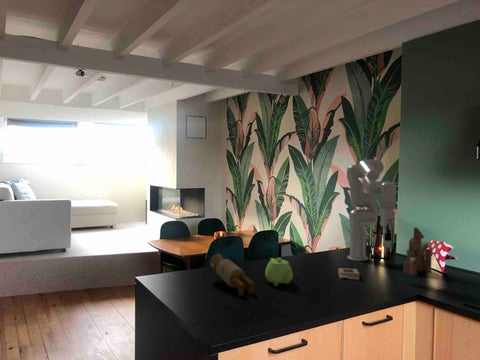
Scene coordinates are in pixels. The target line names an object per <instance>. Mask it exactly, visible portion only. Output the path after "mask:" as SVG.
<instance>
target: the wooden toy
mask: <svg viewBox="0 0 480 360" xmlns="http://www.w3.org/2000/svg"><path fill="white" fill-rule="evenodd" d="M424 238H425V236H424V234H423V233H422V232H421V231H420V229H419V228H418V227H413V237H411V238H410V239H409V241H408V249H406V260H404V261H403V264H402V265H403V267H402V269H403V270H402V272H403V273H404V274H407V275H409V276H410V275H411V276H417V275H418V272H424V273H429V274H430V273H432V249H430V248H425V250H424V254H423V253H422V239H424Z"/></svg>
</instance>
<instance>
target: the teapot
mask: <svg viewBox="0 0 480 360" xmlns="http://www.w3.org/2000/svg"><path fill="white" fill-rule="evenodd" d="M266 265H267V266H266V268H265V272H264V274H265V275H264V276H265V278H266V280H267V281H268V283H273V284H272V285H273V286H275V287H278V286H279V284H283V285H286V284H289V285H290V282H291V281H292V280H293V278H294V273H293V270H292V266H291V265H290V262H288V261H287V260H285V259H282V257H277V258H274V257H273V258H270V260H269V261H268V263H267V264H266Z"/></svg>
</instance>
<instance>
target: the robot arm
mask: <svg viewBox="0 0 480 360" xmlns="http://www.w3.org/2000/svg"><path fill="white" fill-rule="evenodd" d="M384 166H385V165H384V163H383V161H381V160H380V159H362V160H360V161H359V162H358V164H351V165H349V166H348V167H347V170H346V179H347V182H348V185H349V196H350V198H349V199H350V205H351V207H353V208H356V209H352V210H350V211H349V214H348V220H349V235H350V237H349V238H350V241H349V254H348V255H347V256H346V258H347V259H348V260H351V261H355V262H356V261H357V262H360V261H361V262H364V261H368V260H369V257H368V256H366V249H367V248H366V247H367V246H366V242H367V233H366V232H367V231H366V228H365V227H364V226H363V225H375V224H377V222H378V219H379V218H378V201H377V196H380V203H379V204H380V206H379V207H380V220H379V225H380V226H381V227H382V228H383V227H386V233H385V241H392V229H393V227H394V224H395V223H394V220H395V219H394V218H395V216H394V215H395V211H394V210H395V209H396V198H397V185H396V183H395V182H390V181H387V180H385V181H382V180H378V179H380V176H381V174H382V173H383V172H384ZM361 179H362V181H361ZM376 195H377V196H376ZM357 208H358V209H357ZM359 208H361V209H359ZM362 208H364V209H362ZM365 208H367V209H365ZM387 226H389V227H387ZM387 228H388V229H387Z"/></svg>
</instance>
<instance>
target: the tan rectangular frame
mask: <svg viewBox="0 0 480 360" xmlns="http://www.w3.org/2000/svg"><path fill="white" fill-rule="evenodd" d="M337 272H338V276H339V279H341V278H348V279H347V280H360V272H359V271H358V269H357V268H345V267H344V268H341V267H340V268H338V271H337Z"/></svg>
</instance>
